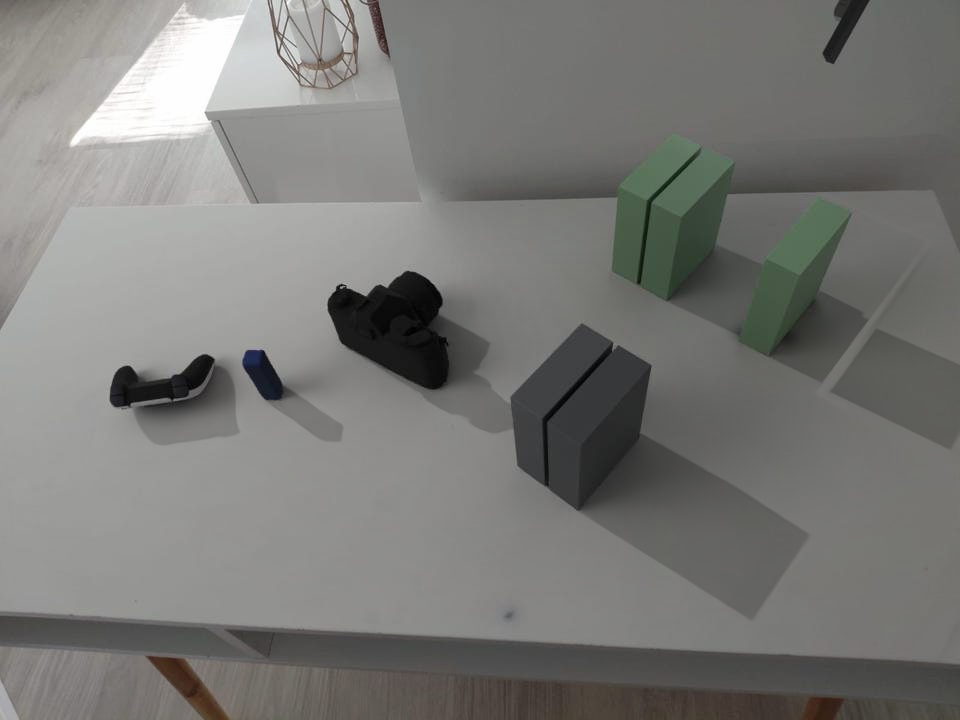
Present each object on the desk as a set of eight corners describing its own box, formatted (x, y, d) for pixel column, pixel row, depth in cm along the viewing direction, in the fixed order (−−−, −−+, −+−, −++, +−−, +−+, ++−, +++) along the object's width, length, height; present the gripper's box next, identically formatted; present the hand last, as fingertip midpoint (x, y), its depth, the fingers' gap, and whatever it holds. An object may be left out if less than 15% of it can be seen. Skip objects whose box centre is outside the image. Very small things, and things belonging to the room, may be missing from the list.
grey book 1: (606, 416, 77) (613, 341, 66) (544, 486, 73) (542, 419, 63) (578, 398, 79) (581, 322, 68) (517, 466, 75) (509, 396, 64)
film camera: (485, 337, 84) (478, 284, 77) (434, 400, 80) (422, 351, 73) (380, 284, 90) (364, 231, 82) (327, 341, 86) (305, 290, 78)
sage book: (815, 297, 83) (852, 212, 72) (768, 356, 79) (800, 275, 69) (785, 283, 85) (818, 196, 74) (738, 340, 81) (765, 257, 70)
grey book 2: (639, 438, 75) (652, 365, 65) (577, 511, 72) (580, 445, 61) (610, 419, 77) (618, 344, 66) (548, 489, 73) (546, 422, 62)
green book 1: (685, 233, 90) (701, 146, 80) (636, 284, 86) (647, 200, 76) (660, 220, 92) (673, 133, 81) (611, 270, 88) (618, 186, 77)
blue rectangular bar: (281, 401, 82) (260, 365, 76) (261, 400, 82) (239, 365, 76) (285, 384, 83) (265, 347, 77) (266, 383, 83) (244, 347, 78)
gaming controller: (130, 403, 86) (101, 419, 79) (120, 365, 85) (90, 378, 78) (223, 388, 86) (202, 404, 79) (215, 350, 85) (193, 362, 78)
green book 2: (714, 247, 88) (735, 161, 78) (666, 300, 85) (681, 217, 74) (688, 234, 90) (706, 147, 79) (640, 286, 86) (651, 202, 76)
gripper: (1222, -115, 58) (1046, 146, 65) (902, -180, 69) (779, 50, 75) (1256, -167, 52) (1057, 128, 58) (897, -230, 63) (763, 26, 69)
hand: (900, 85), depth 67 cm, fingers open, 13 cm apart
